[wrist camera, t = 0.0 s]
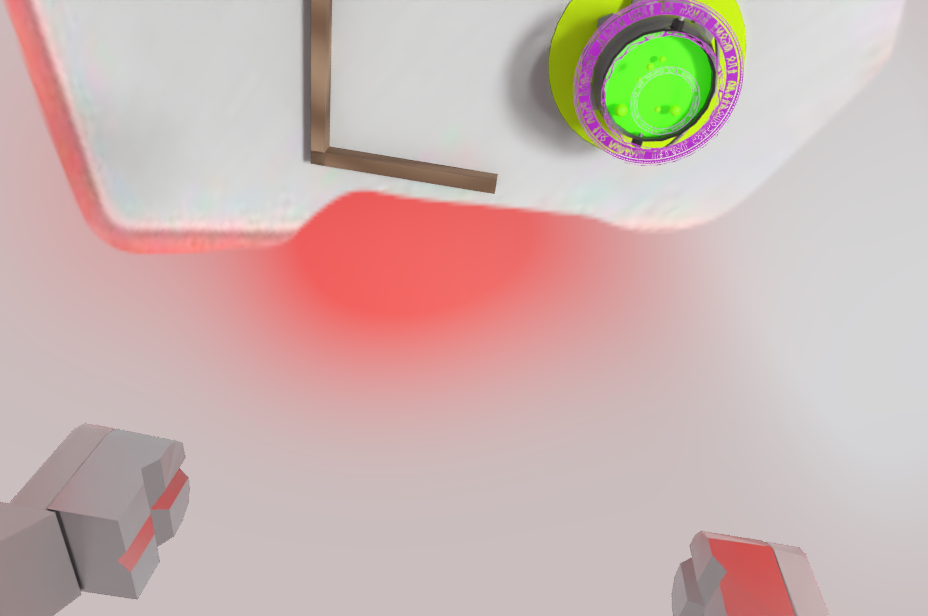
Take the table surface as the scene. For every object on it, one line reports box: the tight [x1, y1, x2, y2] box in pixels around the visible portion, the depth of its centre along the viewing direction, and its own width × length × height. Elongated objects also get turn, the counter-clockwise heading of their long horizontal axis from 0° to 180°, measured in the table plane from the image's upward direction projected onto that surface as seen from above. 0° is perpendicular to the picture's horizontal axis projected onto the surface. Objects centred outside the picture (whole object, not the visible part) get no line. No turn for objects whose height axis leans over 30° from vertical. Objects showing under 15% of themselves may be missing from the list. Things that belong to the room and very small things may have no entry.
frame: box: [311, 0, 498, 194], centre depth 51 cm, size 24×16×2 cm, turn 173°
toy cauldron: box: [549, 0, 746, 166], centre depth 47 cm, size 15×15×11 cm
